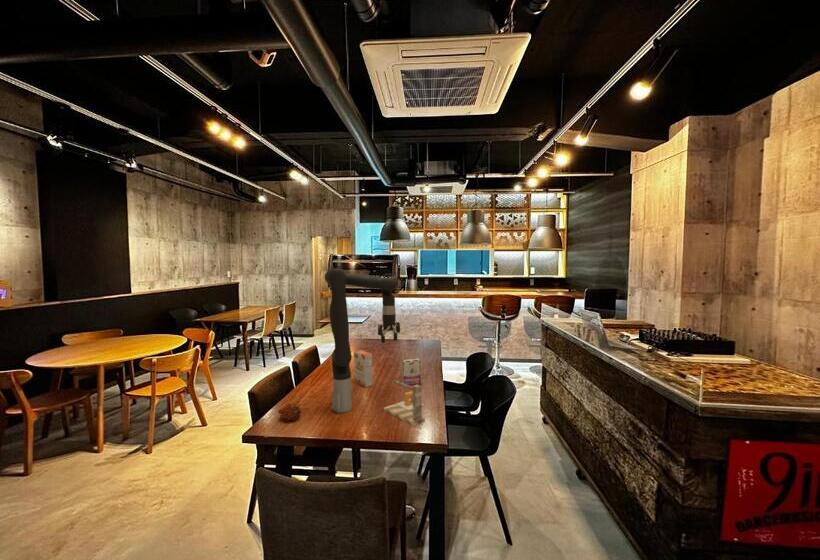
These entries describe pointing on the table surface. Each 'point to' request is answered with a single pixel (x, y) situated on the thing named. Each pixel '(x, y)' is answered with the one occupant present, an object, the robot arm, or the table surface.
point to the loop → (408, 398)
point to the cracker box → (363, 368)
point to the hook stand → (404, 414)
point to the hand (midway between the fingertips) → (389, 341)
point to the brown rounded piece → (290, 412)
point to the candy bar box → (411, 371)
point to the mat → (409, 408)
